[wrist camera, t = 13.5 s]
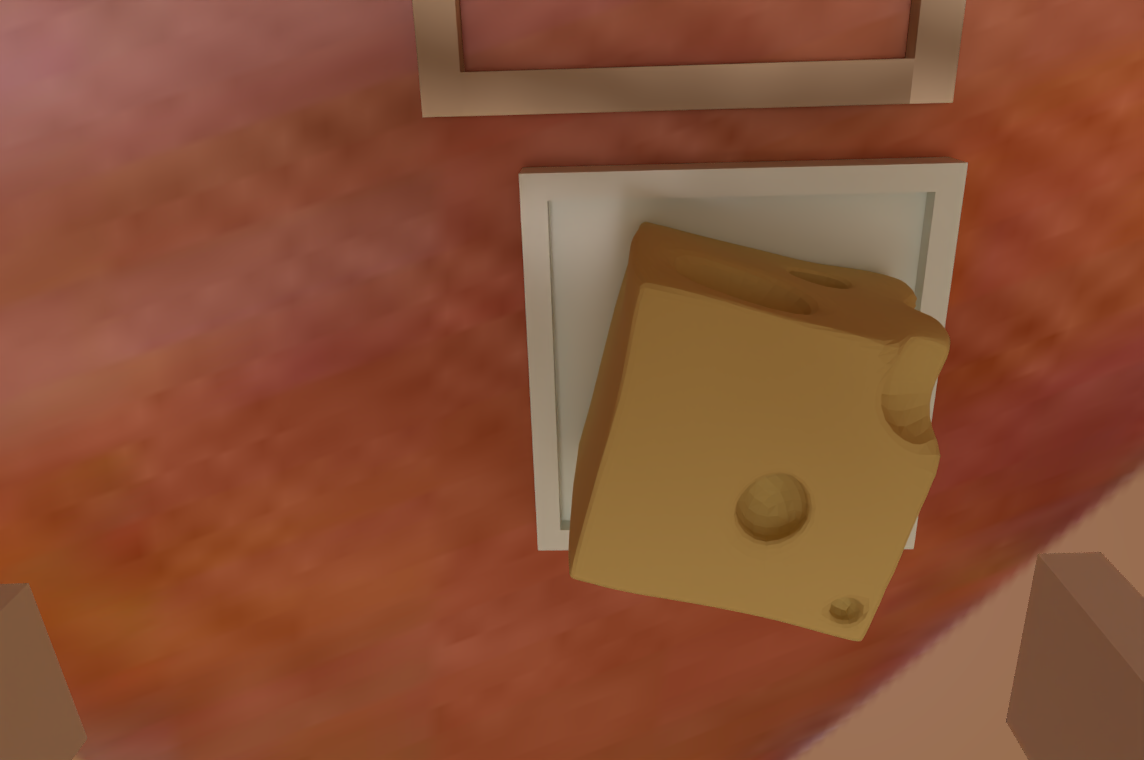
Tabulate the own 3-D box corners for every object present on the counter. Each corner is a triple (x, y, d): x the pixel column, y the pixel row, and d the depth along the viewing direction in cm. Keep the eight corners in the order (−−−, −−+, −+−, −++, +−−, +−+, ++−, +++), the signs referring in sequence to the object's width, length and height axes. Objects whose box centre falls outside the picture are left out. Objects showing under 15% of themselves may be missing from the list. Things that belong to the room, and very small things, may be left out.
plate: (523, 167, 32) (518, 173, 30) (948, 156, 31) (967, 162, 30) (540, 528, 38) (538, 550, 36) (899, 526, 37) (913, 549, 35)
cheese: (892, 269, 32) (1009, 359, 23) (799, 507, 36) (866, 668, 27) (628, 204, 31) (636, 269, 22) (563, 453, 35) (547, 597, 26)
